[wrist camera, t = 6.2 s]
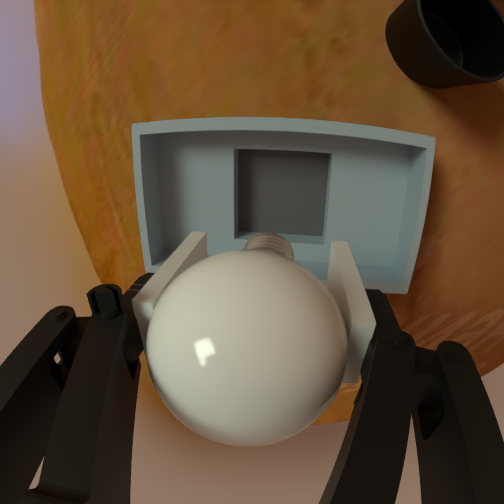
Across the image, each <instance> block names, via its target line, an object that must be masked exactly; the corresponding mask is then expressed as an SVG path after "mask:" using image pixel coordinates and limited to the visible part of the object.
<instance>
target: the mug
mask: <svg viewBox="0 0 504 504" xmlns="http://www.w3.org/2000/svg"><path fill="white" fill-rule="evenodd" d="M386 41H387V45H388V47H389V50H390V52H391V54H392V56H393V58H394V60H395V61H396V63H397V64H398V65H399V66H400V68H401V69H402V70H403V71H404V72H405V73H406V74H407V75H408V76H410V77H411V78H412V79H414V80H415V81H417V82H419V83H421V84H423V85H425V86H428V87H431V88H438V89H443V88H450V87H457V86H464V85H472V84H480V83H489V82H495V81H498V80H500V79H502V78H503V77H504V18H503V16H502V14H501V13H500V11H499V10H498V8H497V7H496V6H495V5H494V3H493V2H492V1H491V0H404V1H403V2H402V3H401V4H400V5H399V6H398V7H397V9H396V10H395V11H394V12H393V13H392V14H391V15H390V17H389V18H388V21H387V24H386Z"/></svg>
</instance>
